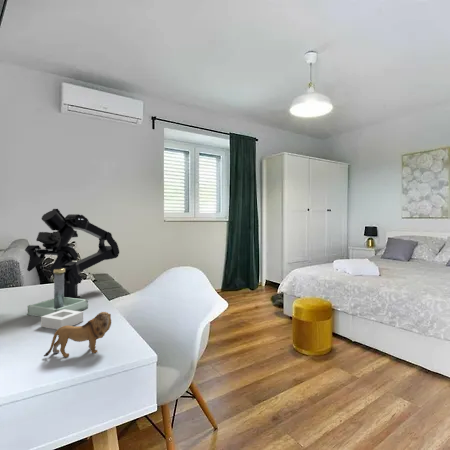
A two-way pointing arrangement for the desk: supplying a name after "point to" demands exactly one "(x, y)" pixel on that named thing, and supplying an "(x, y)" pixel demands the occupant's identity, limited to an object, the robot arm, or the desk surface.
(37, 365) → the desk surface
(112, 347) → the desk surface
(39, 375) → the desk surface
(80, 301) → the tray
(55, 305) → the pin
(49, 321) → the socket block
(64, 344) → the lion figurine
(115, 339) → the desk surface
